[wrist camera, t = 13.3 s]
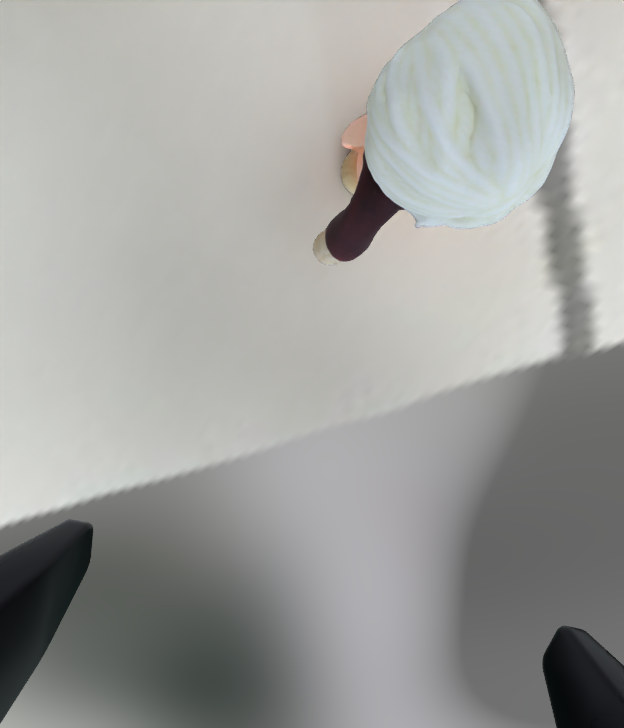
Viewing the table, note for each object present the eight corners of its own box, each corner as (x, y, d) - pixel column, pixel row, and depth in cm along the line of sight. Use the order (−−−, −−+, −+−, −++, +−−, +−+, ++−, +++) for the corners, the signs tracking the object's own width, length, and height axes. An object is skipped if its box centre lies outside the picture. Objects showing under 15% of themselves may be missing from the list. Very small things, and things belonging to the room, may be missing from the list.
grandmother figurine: (402, 33, 17) (575, -375, 5) (487, 96, 17) (833, -130, 5) (292, 224, 19) (226, 266, 7) (370, 274, 20) (431, 391, 8)
